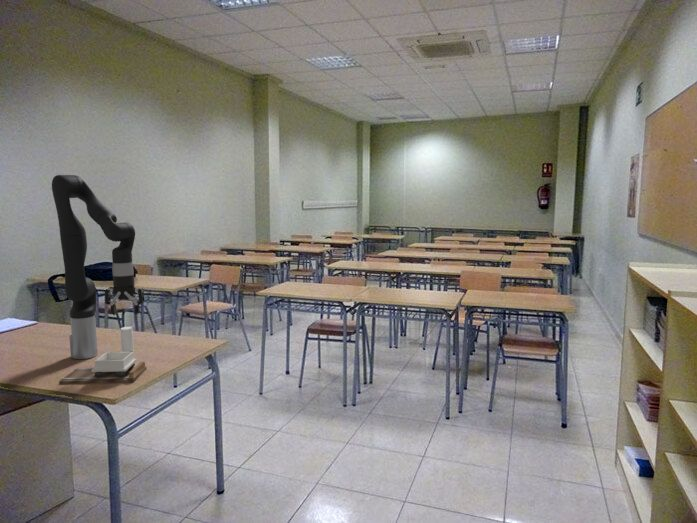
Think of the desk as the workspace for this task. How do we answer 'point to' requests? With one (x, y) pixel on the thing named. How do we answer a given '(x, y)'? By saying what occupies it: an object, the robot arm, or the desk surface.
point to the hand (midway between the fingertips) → (125, 314)
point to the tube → (127, 339)
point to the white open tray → (114, 363)
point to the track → (103, 376)
